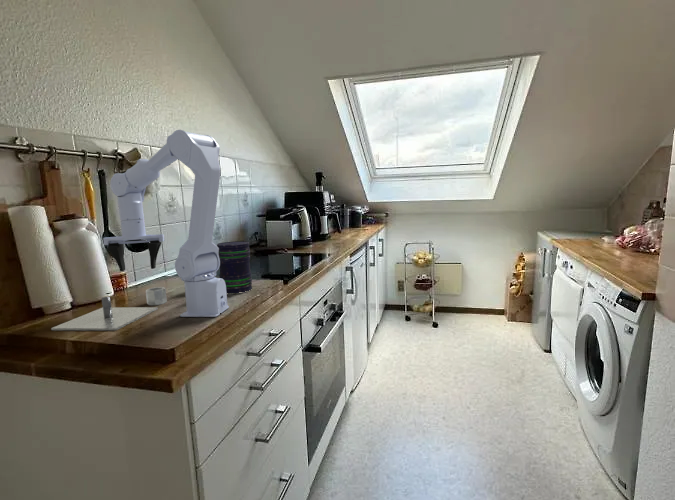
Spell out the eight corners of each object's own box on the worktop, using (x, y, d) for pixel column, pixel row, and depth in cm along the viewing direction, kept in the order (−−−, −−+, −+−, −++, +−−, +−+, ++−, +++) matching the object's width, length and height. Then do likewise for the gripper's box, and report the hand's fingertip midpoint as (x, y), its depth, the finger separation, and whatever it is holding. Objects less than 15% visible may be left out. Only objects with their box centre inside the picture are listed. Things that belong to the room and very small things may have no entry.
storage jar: (228, 286, 122) (225, 241, 120) (257, 286, 121) (254, 240, 119) (214, 294, 113) (210, 245, 111) (245, 294, 111) (241, 244, 109)
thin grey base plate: (157, 309, 99) (155, 289, 98) (115, 330, 83) (112, 306, 82) (102, 309, 101) (100, 289, 100) (51, 330, 85) (47, 307, 84)
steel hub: (169, 300, 107) (168, 287, 107) (160, 305, 102) (158, 291, 102) (154, 300, 108) (152, 287, 107) (143, 305, 103) (142, 291, 102)
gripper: (164, 217, 105) (169, 264, 107) (107, 220, 102) (113, 269, 104) (159, 218, 98) (164, 269, 100) (97, 221, 95) (104, 273, 97)
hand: (138, 269), depth 101 cm, fingers open, 7 cm apart
